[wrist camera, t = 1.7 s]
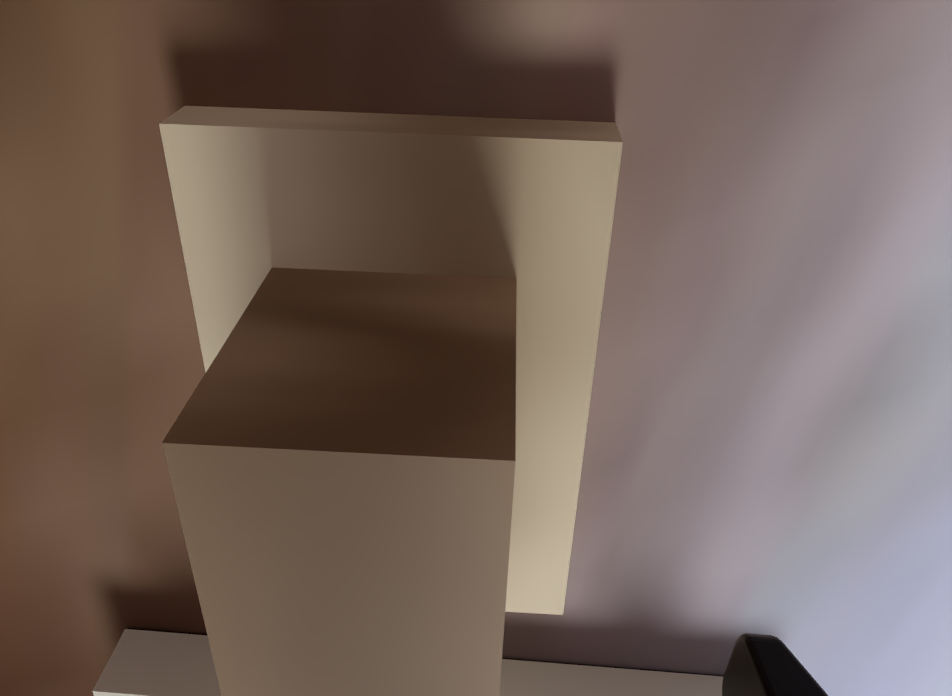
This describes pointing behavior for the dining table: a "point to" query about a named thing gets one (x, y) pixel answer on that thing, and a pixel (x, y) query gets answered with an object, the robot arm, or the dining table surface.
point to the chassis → (521, 686)
